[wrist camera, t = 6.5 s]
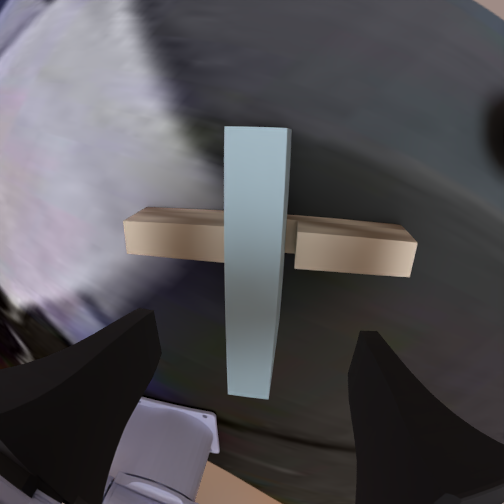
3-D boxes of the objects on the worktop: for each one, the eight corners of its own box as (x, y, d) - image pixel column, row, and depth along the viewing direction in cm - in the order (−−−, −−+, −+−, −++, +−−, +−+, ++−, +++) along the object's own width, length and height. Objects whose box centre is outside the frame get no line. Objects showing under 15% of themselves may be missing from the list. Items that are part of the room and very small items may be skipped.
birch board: (148, 236, 20) (127, 253, 17) (146, 207, 19) (123, 220, 16) (395, 255, 18) (409, 277, 15) (400, 225, 17) (417, 242, 14)
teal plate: (250, 312, 21) (228, 394, 14) (255, 127, 16) (224, 126, 9) (279, 315, 21) (268, 399, 14) (291, 129, 16) (287, 128, 9)
